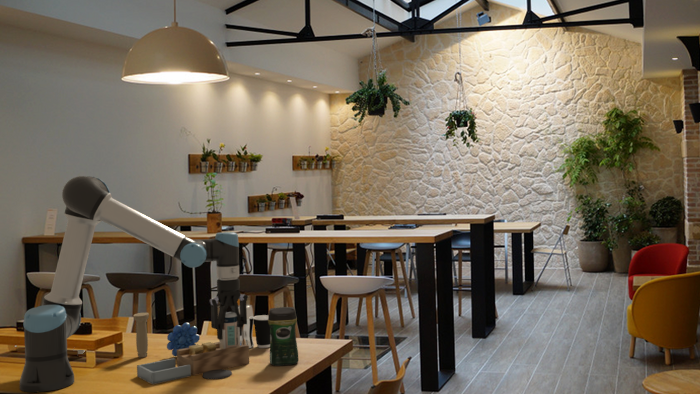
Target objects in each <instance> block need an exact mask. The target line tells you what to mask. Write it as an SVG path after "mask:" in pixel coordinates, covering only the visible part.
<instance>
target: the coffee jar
mask: <svg viewBox="0 0 700 394" xmlns="http://www.w3.org/2000/svg"><path fill="white" fill-rule="evenodd" d="M296 312H297V311H296V308H295V307H294V306H292V307H291V306H285V307H284V306H283V307H281V306H280V307H272V308H269V311H268V315H269V316H268V323H269V326H270V347H269V364H270V365H272V366H274V367H275V366H278V367H280V366H292V365H295V364H297V363H299V349H298V342H297V334H296V324H297V322H298V321H297V320H298V317H297V313H296Z"/></svg>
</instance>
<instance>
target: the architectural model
mask: <svg viewBox="0 0 700 394" xmlns="http://www.w3.org/2000/svg"><path fill="white" fill-rule="evenodd" d="M72 350H73V351H75V350H74V348H73V349H72ZM84 352H85V350H77V355H78V354H83V353H84Z"/></svg>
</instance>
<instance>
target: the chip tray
mask: <svg viewBox="0 0 700 394" xmlns="http://www.w3.org/2000/svg"><path fill="white" fill-rule="evenodd" d="M176 364H177V361H176V358H174V357H173V358H168V359H162V360H158V361H154V362H148V363H143V364H138V365H136V372H137V373H136V375H137V377H138V378H140V379H141V380H143V381H145V382H147V383H149V384H151V385H157V384H162V383H165V382H170V381H174V380H179V379H184V378H188V377H191V376H192V374H191V366H190V365H184V366H179V367H177V366H176Z"/></svg>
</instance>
